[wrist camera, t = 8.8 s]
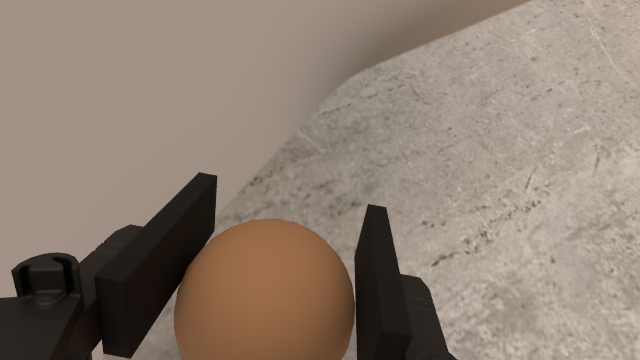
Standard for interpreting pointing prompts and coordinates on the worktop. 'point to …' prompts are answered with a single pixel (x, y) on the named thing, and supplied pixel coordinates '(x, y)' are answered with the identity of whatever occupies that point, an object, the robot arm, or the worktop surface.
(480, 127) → the worktop surface
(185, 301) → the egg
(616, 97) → the worktop surface
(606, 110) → the worktop surface
